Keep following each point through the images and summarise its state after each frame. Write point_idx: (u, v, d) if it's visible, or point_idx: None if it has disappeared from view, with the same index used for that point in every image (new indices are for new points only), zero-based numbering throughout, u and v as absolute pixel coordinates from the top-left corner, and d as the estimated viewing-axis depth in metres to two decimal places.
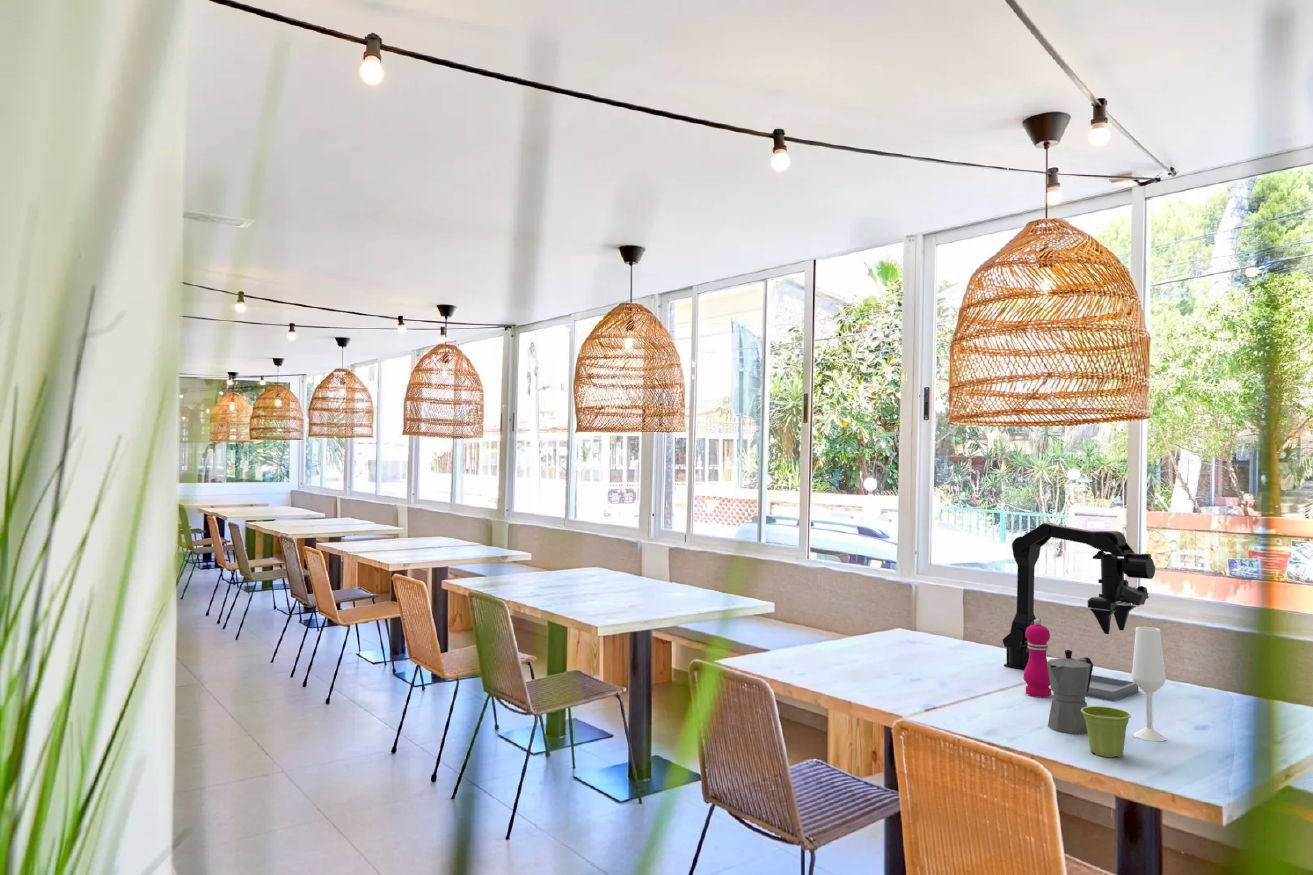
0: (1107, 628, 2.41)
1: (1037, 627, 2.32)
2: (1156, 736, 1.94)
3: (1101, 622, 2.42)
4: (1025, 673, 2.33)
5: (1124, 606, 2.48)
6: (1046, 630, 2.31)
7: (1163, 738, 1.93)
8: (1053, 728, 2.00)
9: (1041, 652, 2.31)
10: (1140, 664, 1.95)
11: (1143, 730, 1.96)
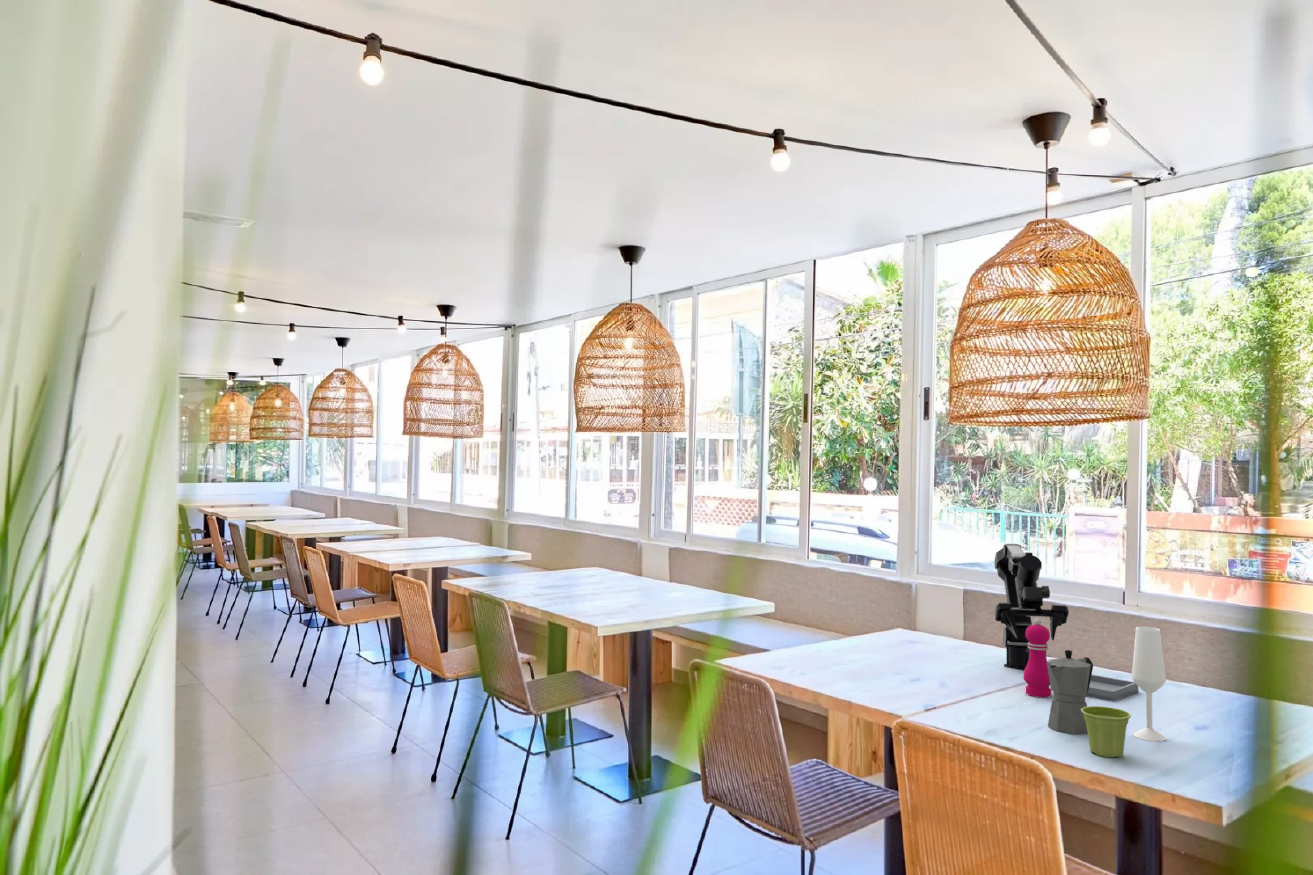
0: (1014, 631, 2.43)
1: (1037, 627, 2.32)
2: (1156, 736, 1.94)
3: (1011, 629, 2.45)
4: (1025, 673, 2.33)
5: None
6: (1046, 630, 2.31)
7: (1163, 738, 1.93)
8: (1053, 728, 2.00)
9: (1041, 652, 2.31)
10: (1140, 664, 1.95)
11: (1143, 730, 1.96)
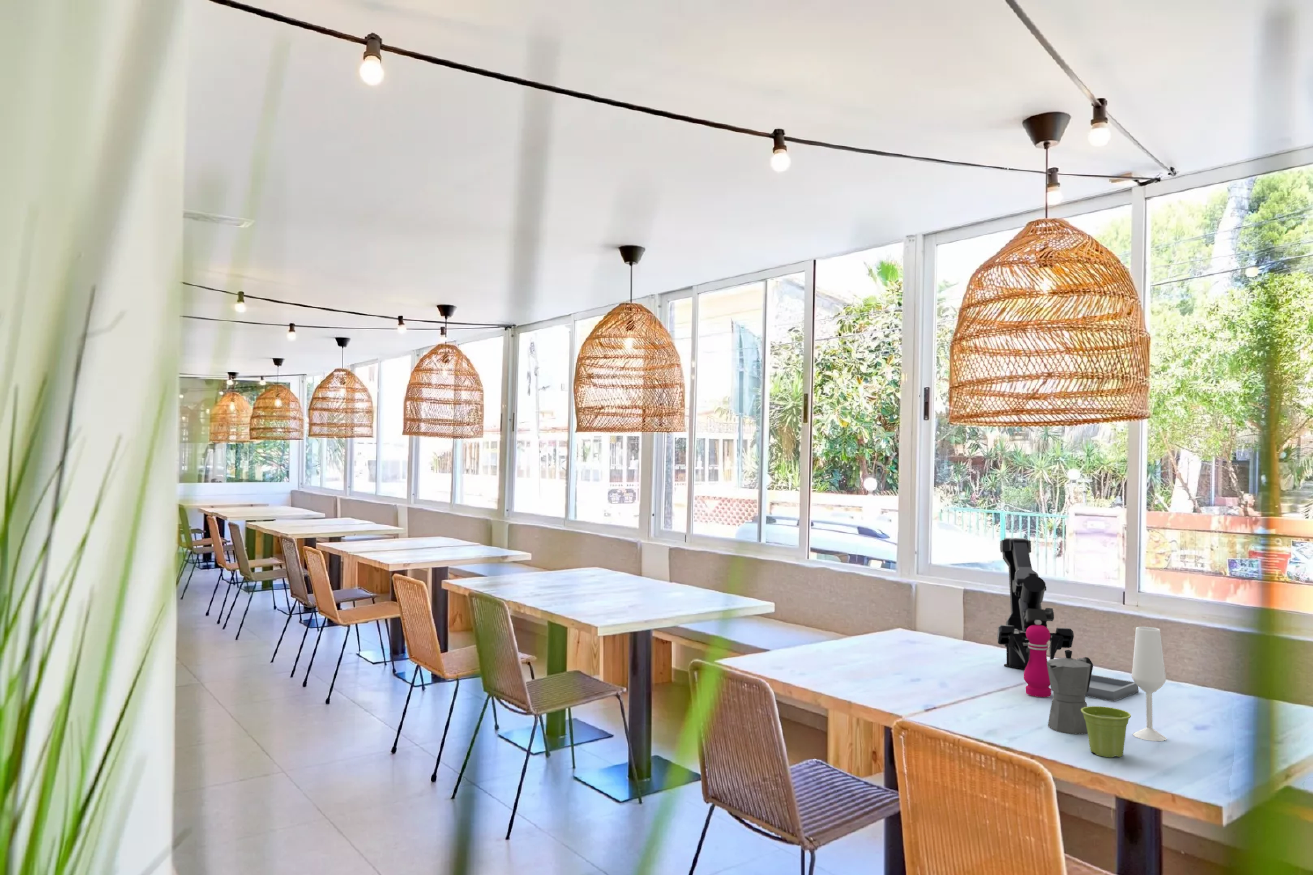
0: (1022, 655, 2.34)
1: (1038, 627, 2.32)
2: (1156, 736, 1.94)
3: (1019, 653, 2.36)
4: (1026, 673, 2.33)
5: None
6: (1047, 630, 2.31)
7: (1163, 738, 1.93)
8: (1053, 728, 2.00)
9: (1041, 652, 2.31)
10: (1140, 664, 1.95)
11: (1143, 730, 1.96)
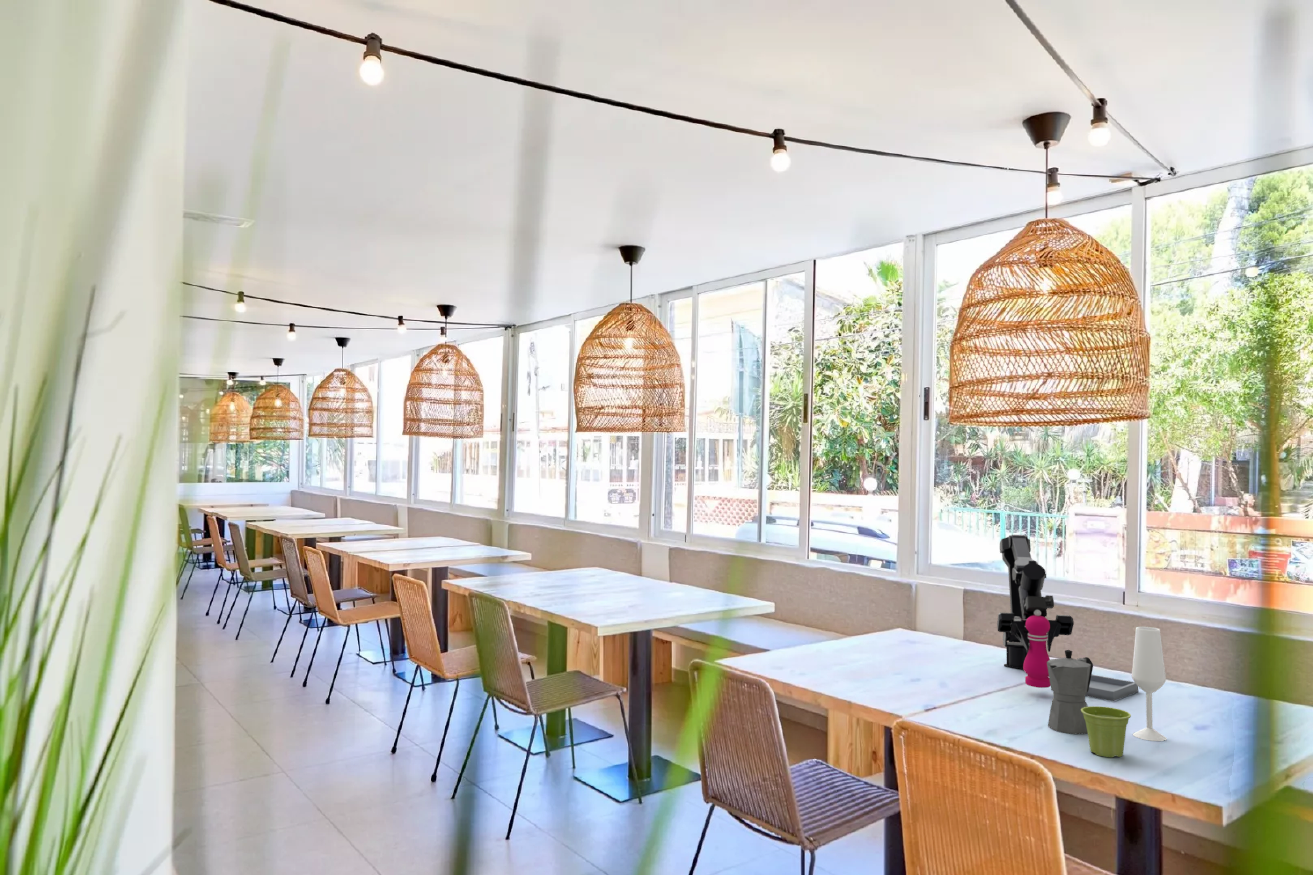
0: (1024, 643, 2.34)
1: (1037, 618, 2.32)
2: (1156, 736, 1.94)
3: (1021, 641, 2.36)
4: (1025, 663, 2.33)
5: None
6: (1046, 621, 2.31)
7: (1163, 738, 1.93)
8: (1053, 728, 2.00)
9: (1041, 643, 2.31)
10: (1140, 664, 1.95)
11: (1143, 730, 1.96)
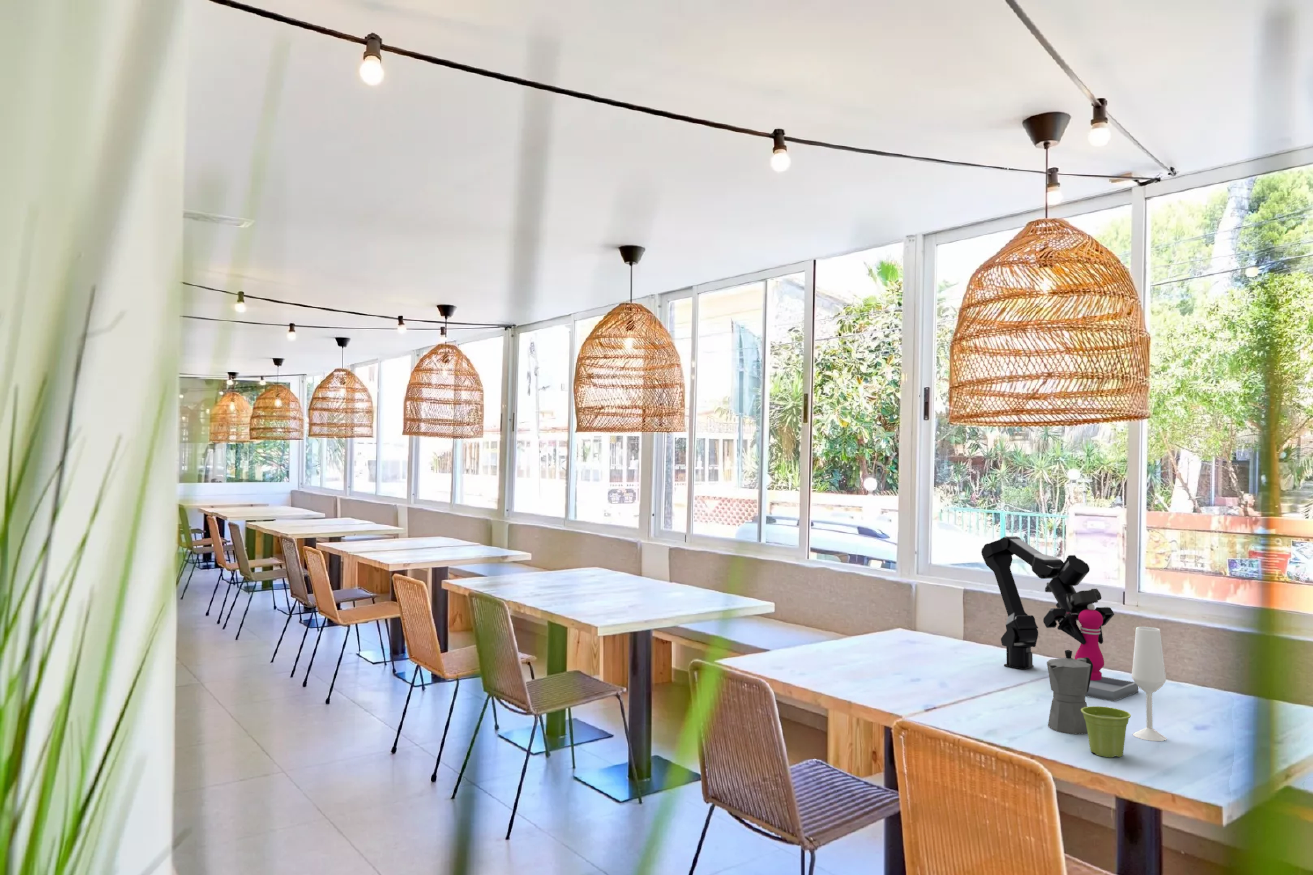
0: (1080, 637, 2.35)
1: (1094, 612, 2.35)
2: (1156, 736, 1.94)
3: (1074, 635, 2.37)
4: (1082, 657, 2.35)
5: None
6: None
7: (1163, 738, 1.93)
8: (1053, 728, 2.00)
9: (1096, 636, 2.35)
10: (1140, 664, 1.95)
11: (1143, 730, 1.96)
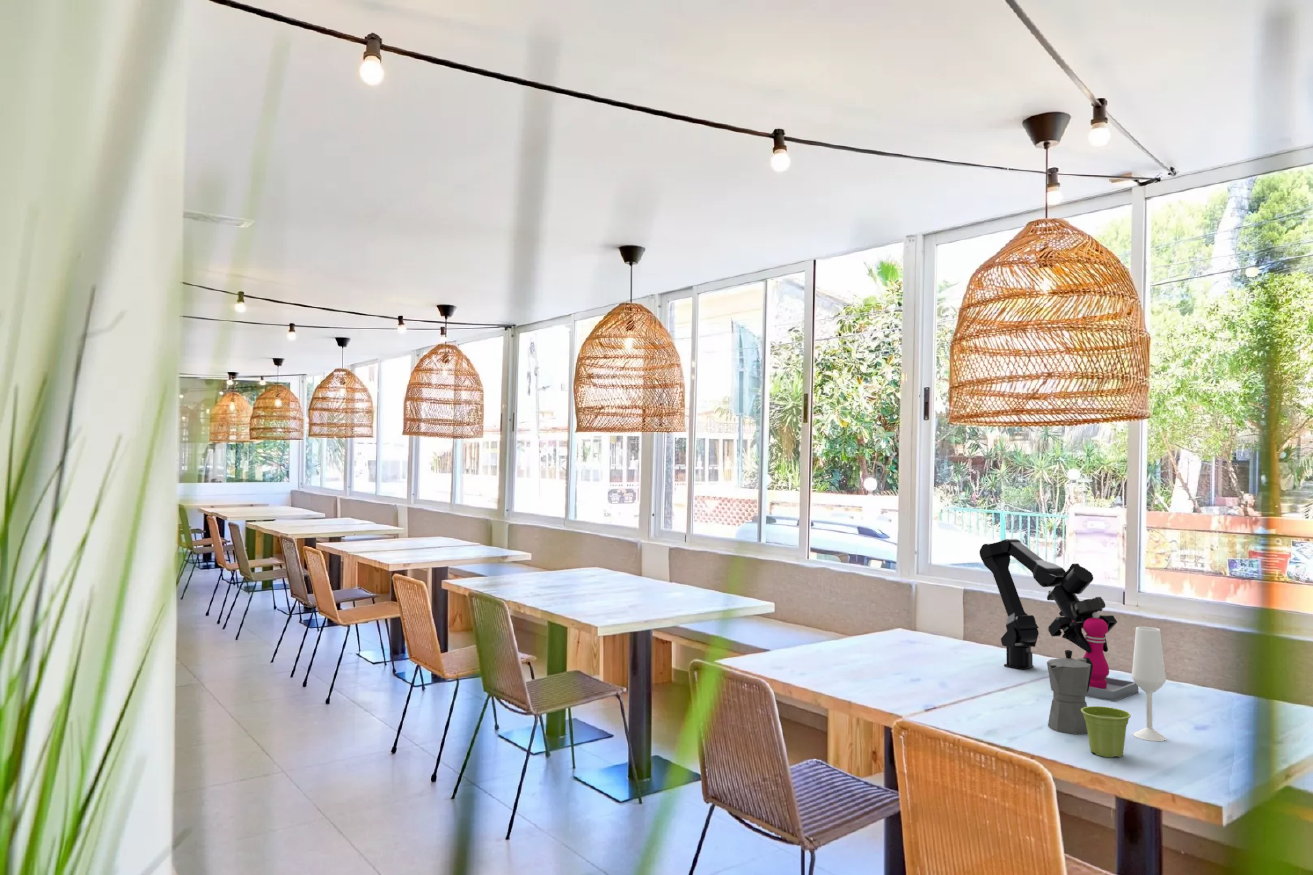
0: (1086, 645, 2.36)
1: (1099, 620, 2.36)
2: (1156, 736, 1.94)
3: (1079, 644, 2.38)
4: None
5: None
6: None
7: (1163, 738, 1.93)
8: (1053, 728, 2.00)
9: (1102, 644, 2.36)
10: (1140, 664, 1.95)
11: (1143, 730, 1.96)
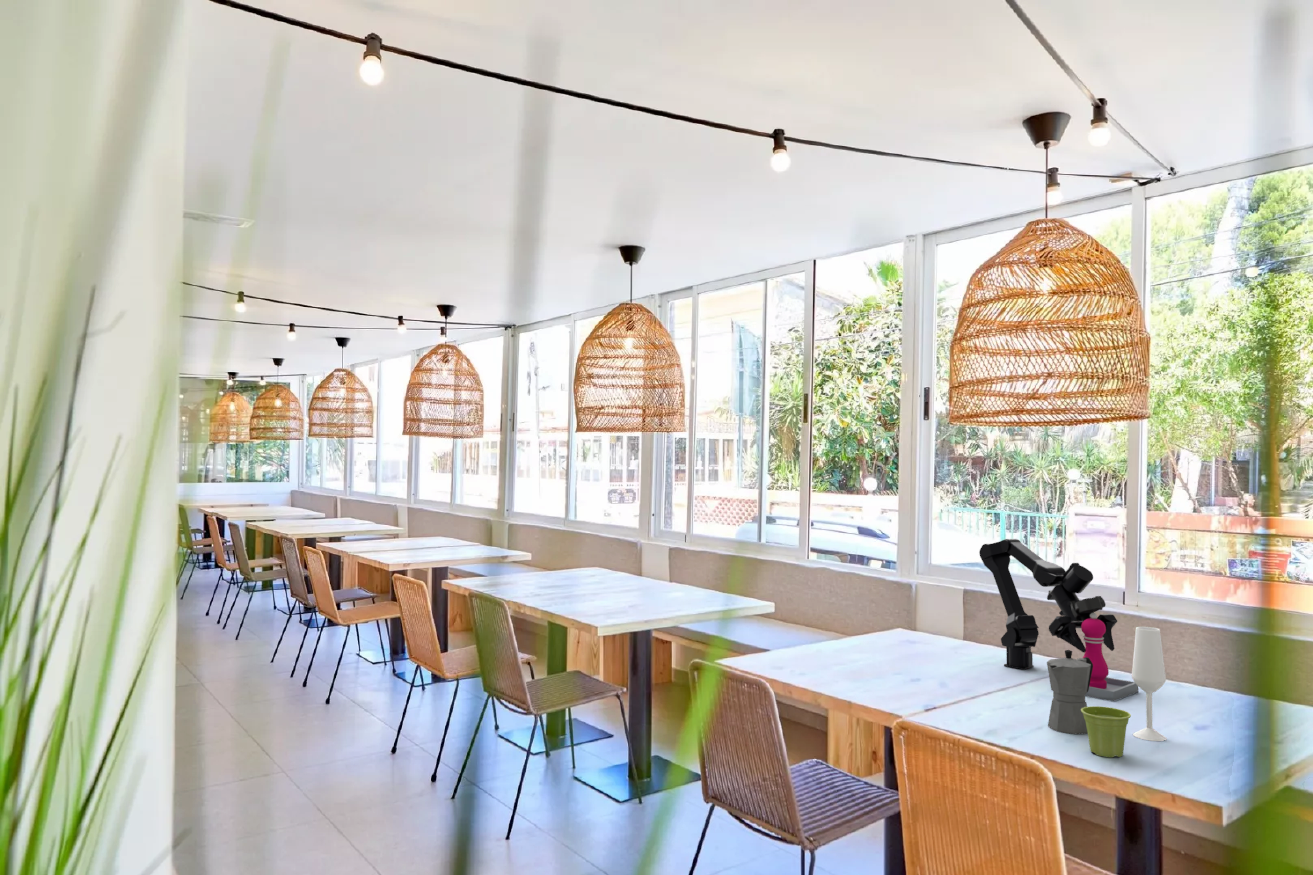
0: (1080, 645, 2.35)
1: (1097, 620, 2.36)
2: (1156, 736, 1.94)
3: (1073, 643, 2.37)
4: None
5: None
6: (1103, 623, 2.37)
7: (1163, 738, 1.93)
8: (1053, 728, 2.00)
9: (1100, 645, 2.36)
10: (1140, 664, 1.95)
11: (1143, 730, 1.96)
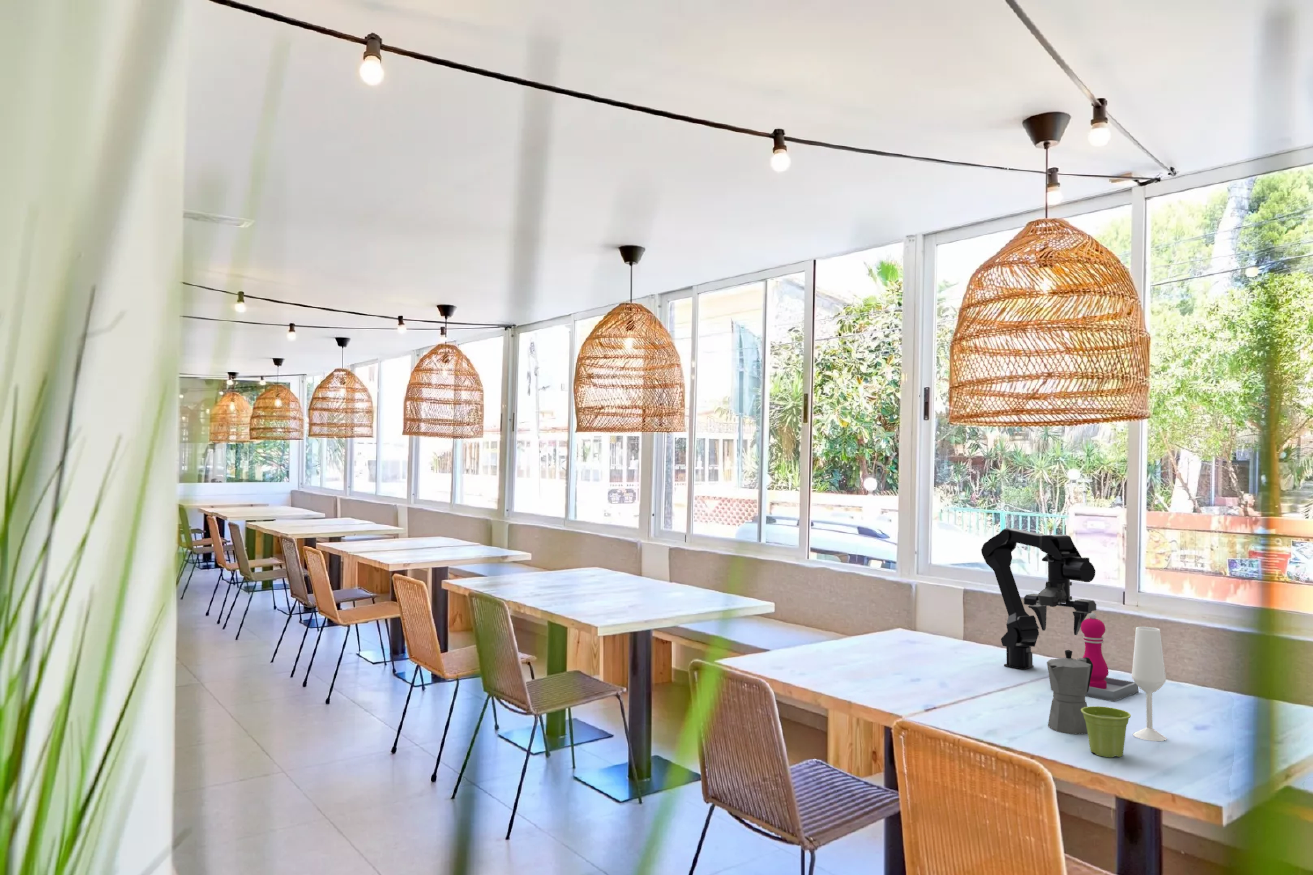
0: None
1: (1096, 620, 2.36)
2: (1156, 736, 1.94)
3: None
4: None
5: None
6: (1103, 623, 2.37)
7: (1163, 738, 1.93)
8: (1053, 728, 2.00)
9: (1100, 645, 2.36)
10: (1140, 664, 1.95)
11: (1143, 730, 1.96)
